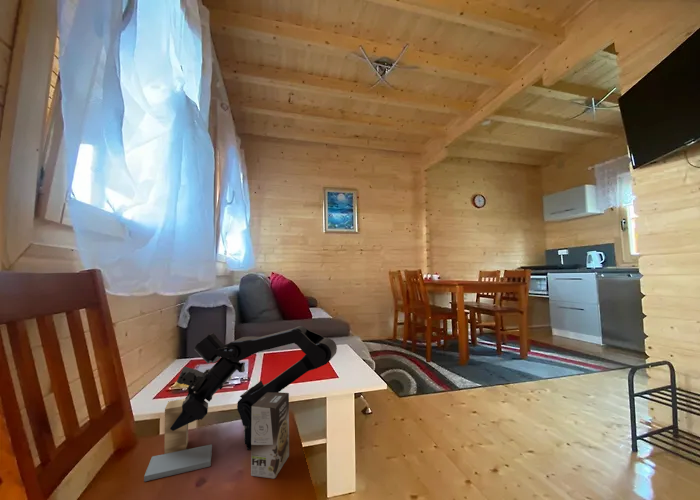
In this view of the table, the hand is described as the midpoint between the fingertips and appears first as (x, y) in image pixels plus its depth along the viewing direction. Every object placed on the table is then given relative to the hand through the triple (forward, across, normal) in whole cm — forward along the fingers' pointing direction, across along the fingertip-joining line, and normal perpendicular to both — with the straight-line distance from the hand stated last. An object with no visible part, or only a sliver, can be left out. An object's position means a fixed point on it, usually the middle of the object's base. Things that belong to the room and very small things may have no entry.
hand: (174, 421), depth 85 cm
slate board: (+3, +8, +7) cm, 11 cm away
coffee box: (-12, +17, +22) cm, 30 cm away
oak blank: (+5, 0, +6) cm, 7 cm away
